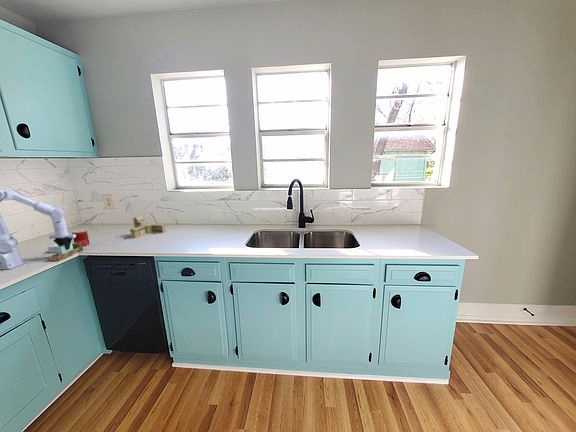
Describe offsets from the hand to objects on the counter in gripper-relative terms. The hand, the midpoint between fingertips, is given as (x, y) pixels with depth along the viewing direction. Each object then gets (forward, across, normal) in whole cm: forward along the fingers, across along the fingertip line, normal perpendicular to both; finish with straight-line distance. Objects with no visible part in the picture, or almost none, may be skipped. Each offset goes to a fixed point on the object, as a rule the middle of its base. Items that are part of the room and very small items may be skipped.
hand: (65, 249), depth 151 cm
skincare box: (+2, +16, -9) cm, 19 cm away
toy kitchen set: (+5, -30, -40) cm, 50 cm away
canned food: (+4, +5, -19) cm, 20 cm away
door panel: (+3, 0, 0) cm, 3 cm away
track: (+4, 0, 0) cm, 4 cm away
